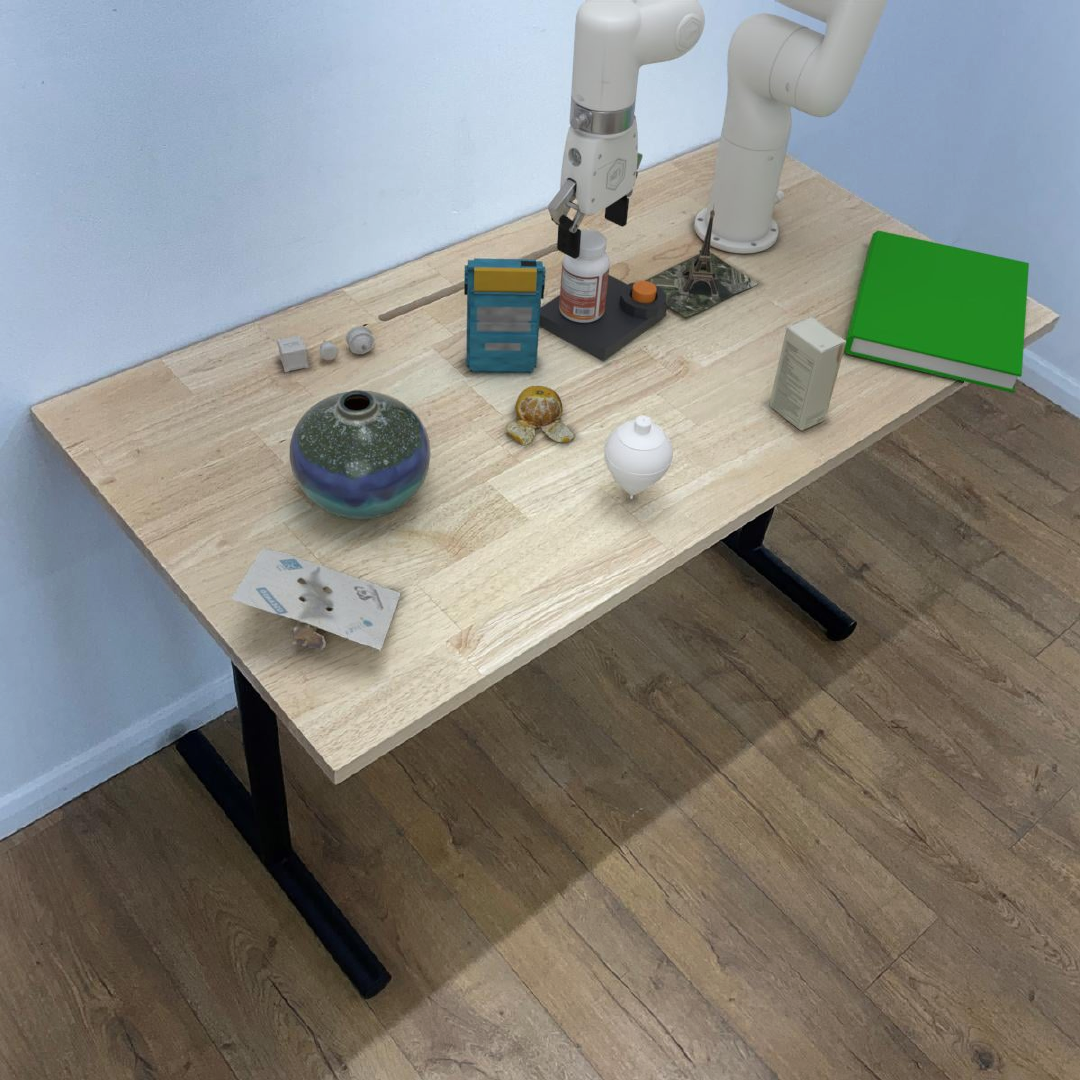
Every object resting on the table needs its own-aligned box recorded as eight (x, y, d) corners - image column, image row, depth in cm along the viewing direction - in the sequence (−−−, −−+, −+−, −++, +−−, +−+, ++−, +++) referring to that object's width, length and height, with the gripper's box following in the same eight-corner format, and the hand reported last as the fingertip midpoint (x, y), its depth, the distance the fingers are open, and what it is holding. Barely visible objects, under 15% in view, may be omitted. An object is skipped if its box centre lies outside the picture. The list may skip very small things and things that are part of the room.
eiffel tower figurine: (706, 252, 172) (721, 169, 162) (758, 284, 167) (777, 200, 157) (634, 288, 165) (646, 203, 155) (687, 322, 160) (702, 237, 150)
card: (367, 687, 115) (381, 647, 113) (219, 638, 114) (231, 596, 112) (388, 629, 126) (401, 591, 123) (252, 583, 124) (264, 544, 122)
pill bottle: (584, 292, 160) (591, 220, 152) (613, 314, 157) (622, 242, 149) (549, 307, 157) (554, 235, 149) (578, 330, 154) (586, 257, 146)
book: (1021, 280, 171) (1028, 262, 169) (1013, 393, 152) (1021, 374, 150) (868, 247, 175) (874, 229, 173) (842, 352, 156) (848, 334, 154)
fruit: (507, 444, 140) (508, 421, 138) (503, 400, 146) (504, 377, 143) (575, 444, 141) (578, 421, 139) (568, 399, 147) (571, 376, 144)
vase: (356, 562, 126) (348, 472, 116) (266, 489, 133) (252, 399, 123) (459, 493, 134) (459, 403, 124) (369, 428, 141) (364, 338, 131)
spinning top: (587, 506, 134) (596, 427, 125) (615, 467, 139) (626, 388, 130) (647, 531, 132) (661, 452, 123) (674, 490, 137) (689, 412, 128)
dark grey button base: (599, 279, 166) (602, 257, 163) (671, 316, 160) (675, 294, 158) (533, 323, 158) (534, 301, 155) (607, 363, 152) (609, 341, 150)
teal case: (538, 356, 153) (545, 257, 142) (539, 376, 150) (547, 277, 139) (463, 355, 152) (464, 256, 141) (463, 375, 149) (464, 276, 138)
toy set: (282, 354, 145) (275, 336, 147) (285, 375, 147) (279, 357, 149) (376, 335, 148) (368, 318, 150) (377, 356, 151) (369, 339, 153)
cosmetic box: (825, 421, 147) (850, 342, 138) (800, 432, 145) (823, 353, 136) (791, 392, 150) (812, 314, 141) (766, 403, 149) (786, 324, 140)
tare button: (640, 287, 159) (642, 277, 158) (659, 297, 158) (661, 287, 157) (626, 297, 157) (628, 287, 156) (645, 307, 156) (647, 297, 155)
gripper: (581, 150, 130) (572, 279, 143) (671, 96, 139) (655, 221, 152) (529, 127, 133) (525, 254, 146) (621, 75, 143) (610, 199, 155)
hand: (592, 237), depth 149 cm, fingers open, 9 cm apart
